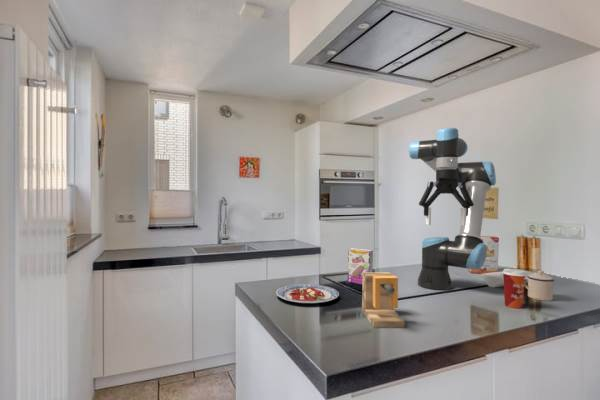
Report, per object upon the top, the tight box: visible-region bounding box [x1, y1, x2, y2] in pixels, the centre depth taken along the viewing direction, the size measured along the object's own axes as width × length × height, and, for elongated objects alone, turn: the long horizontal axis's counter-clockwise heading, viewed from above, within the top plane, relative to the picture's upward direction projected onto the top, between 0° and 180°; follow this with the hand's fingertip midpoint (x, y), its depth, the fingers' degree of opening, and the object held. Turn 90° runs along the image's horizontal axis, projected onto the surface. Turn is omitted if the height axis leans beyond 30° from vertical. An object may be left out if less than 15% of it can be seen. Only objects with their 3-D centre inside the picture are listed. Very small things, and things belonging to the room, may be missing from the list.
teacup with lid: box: [524, 269, 555, 302], centre depth 141 cm, size 12×9×12 cm
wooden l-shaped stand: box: [361, 271, 406, 329], centre depth 112 cm, size 17×10×14 cm, turn 3°
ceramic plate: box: [276, 283, 340, 305], centre depth 136 cm, size 26×26×3 cm
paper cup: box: [501, 268, 526, 310], centre depth 128 cm, size 8×8×14 cm
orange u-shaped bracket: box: [373, 275, 399, 309], centre depth 110 cm, size 3×8×10 cm, turn 93°
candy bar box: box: [347, 247, 374, 286], centre depth 159 cm, size 11×5×16 cm, turn 58°
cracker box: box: [467, 235, 500, 274], centre depth 186 cm, size 14×6×21 cm, turn 81°
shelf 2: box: [480, 269, 536, 288], centre depth 162 cm, size 12×30×5 cm, turn 114°
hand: (445, 224), depth 126 cm, fingers open, 13 cm apart
